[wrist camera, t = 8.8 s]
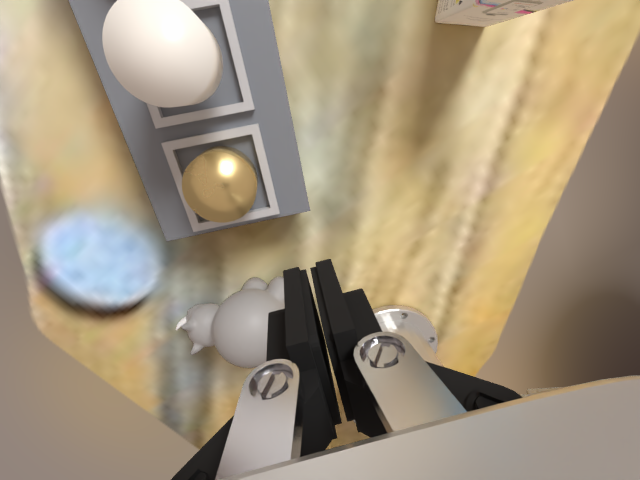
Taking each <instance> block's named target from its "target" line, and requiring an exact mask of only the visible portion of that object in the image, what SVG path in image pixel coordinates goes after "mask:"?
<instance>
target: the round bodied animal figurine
mask: <svg viewBox="0 0 640 480" xmlns="http://www.w3.org/2000/svg"><path fill="white" fill-rule="evenodd" d="M284 308H285V303H284V277H275V278H274V279H272V280H271V282H270V283H269V285H268V286H267V284H266V283H265V282H264V281H263V280H262V279H260V278H257V277H253V278H250V279H249V280H247V281H246V283H245V284H244V285H243V287H242V290H241V291H239V292H236V293H234V294H232V295H231V296H229V297H228V298H227V299H226V300H225V301H224V302H223V303H222V304H221V305H218V304H214V303H207V304H197V305H195V306H193V307H192V308H190V309H189V310H188V311H187V316H186V317H184V318H183V319H181V320H180V321H179V323H178V324H177V326H176V330H177V329H179V328H180V327H181V328H182V329H183V330H186V331H187V333H188V336H189V338H190V340H191V341H192V342H193V344H194V346H193V348H192V350H191V355H193V354H196V353H197V352H199V351H200V350H201V349H202V348H204V347H211V346H214V345H215V347H216V349H217V351H218V352H219V353H220V355H221V356H222V357H223V358H224V359H225V360H227V361H228V362H230V363H231V364H233V365H236V366H239V367H244V368H254V367H258V366H259V365H261V364H263V363H265V362H266V355H267V332H268V314H269V312H273V311H277V310H280V309H284Z"/></svg>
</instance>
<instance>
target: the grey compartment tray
mask: <svg viewBox="0 0 640 480" xmlns="http://www.w3.org/2000/svg"><path fill="white" fill-rule="evenodd" d="M68 1H69V3H70V6H71V8H72V10H73V13H74V15H75V18H76V20H77V23H78V25H79V28H80V30H81V33H82V35H83V37H84V40H85V42H86V45H87V47H88V50H89V52H90V55H91V57H92V59H93V62H94V64H95V67H96V69H97V72H98V74H99V77H100V79H101V82H102V84H103V86H104V89H105V91H106V94H107V96H108V99H109V101H110V104H111V106H112V109H113V111H114V113H115V116H116V118H117V121H118V123H119V126H120V128H121V131H122V133H123V136H124V138H125V140H126V143H127V145H128V148H129V150H130V153H131V155H132V158H133V160H134V163H135V165H136V167H137V170H138V172H139V175H140V177H141V180H142V182H143V185H144V187H145V189H146V192H147V194H148V197H149V199H150V202H151V204H152V207H153V209H154V212H155V214H156V216H157V219H158V221H159V224H160V226H161V229H162V231H163V234H164V236H165V239H166V241H171V240H176V239H180V238H185V237H190V236H194V235H199V234H204V233H208V232H213V231H218V230H222V229H227V228H232V227H236V226H241V225H246V224H250V223H255V222H260V221H264V220H269V219H274V218H278V217H283V216H288V215H293V214H297V213H302V212H307V211H310V207H309V202H308V197H307V192H306V187H305V182H304V177H303V172H302V167H301V162H300V157H299V152H298V147H297V142H296V137H295V132H294V127H293V122H292V117H291V112H290V107H289V102H288V97H287V92H286V87H285V82H284V77H283V72H282V67H281V62H280V57H279V52H278V47H277V42H276V37H275V32H274V27H273V22H272V17H271V12H270V7H269V2H268V0H180V1H181V2H183V3H184V4H185V5H186V6H188V7H189V8H190V9H191V10H192V11H193V12H194V13H195V14H196V16H197V17H198V18H199V19H200V20H201V21H202V22H203V23H204V24H205V25H206V26H207V27H208V28H209V30H210V31H211V32H212V34H213V35H214V37H215V38H216V40H217V42H218V45H219V47H220V50H221V54H222V58H223V73H222V78H221V81H220V83H219V86H218V87H217V89H216V91H215V92H214V93H213V94H212V95H211V96H210V97H209V98H208V99H206V100H205V101H203V102H201V103H198V104H195V105H188V106H179V107H171V108H168V107H158V106H154V105H150V104H148V103H145V102H143V101H141V100H140V99H138V98H136V97H135V96H133V95H132V94H131V93H129V92H128V91H127V90H126V89H125V88H124V87H123V86H122V85H121V84H120V83H119V81H118V80H117V79H116V77H115V76H114V74H113V73H112V71H111V69H110V67H109V65H108V63H107V60H106V57H105V54H104V49H103V41H102V33H103V26H104V22H105V19H106V16H107V14H108V12H109V10H110V8H111V7H112V6H113V4H114V3H115V2H116V1H117V0H68ZM215 146H229V147H233V148H235V149H238V150H239V151H241V152H243V153H244V154H245V155H246V156H247V157H249V159H250V160H251V161H252V163H253V164H254V166H255V168H256V171H257V176H258V185H257V192H256V197H255V201H254V204H253V205H252V207H251V209H250V210H249V211H248V212H247V213H246V214H245V215H244V216H243V217H241V218H239V219H237V220H235V221H231V222H226V223H219V222H213V221H209V220H206V219H204V218H202V217H201V216H199V215H198V214H196V213H195V212H194V211H193V210H192V209H191V208H190V206H189V205H188V204H187V202H186V200H185V198H184V195H183V192H182V178H183V174H184V172H185V169H186V168H187V166H188V165H189V164H190V163H191V162H192V161H193V160H194V159H195V158H196V157H197V156H199V155H200V154H201V153H202V152H204V151H205V150H207V149H209V148H212V147H215Z"/></svg>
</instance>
